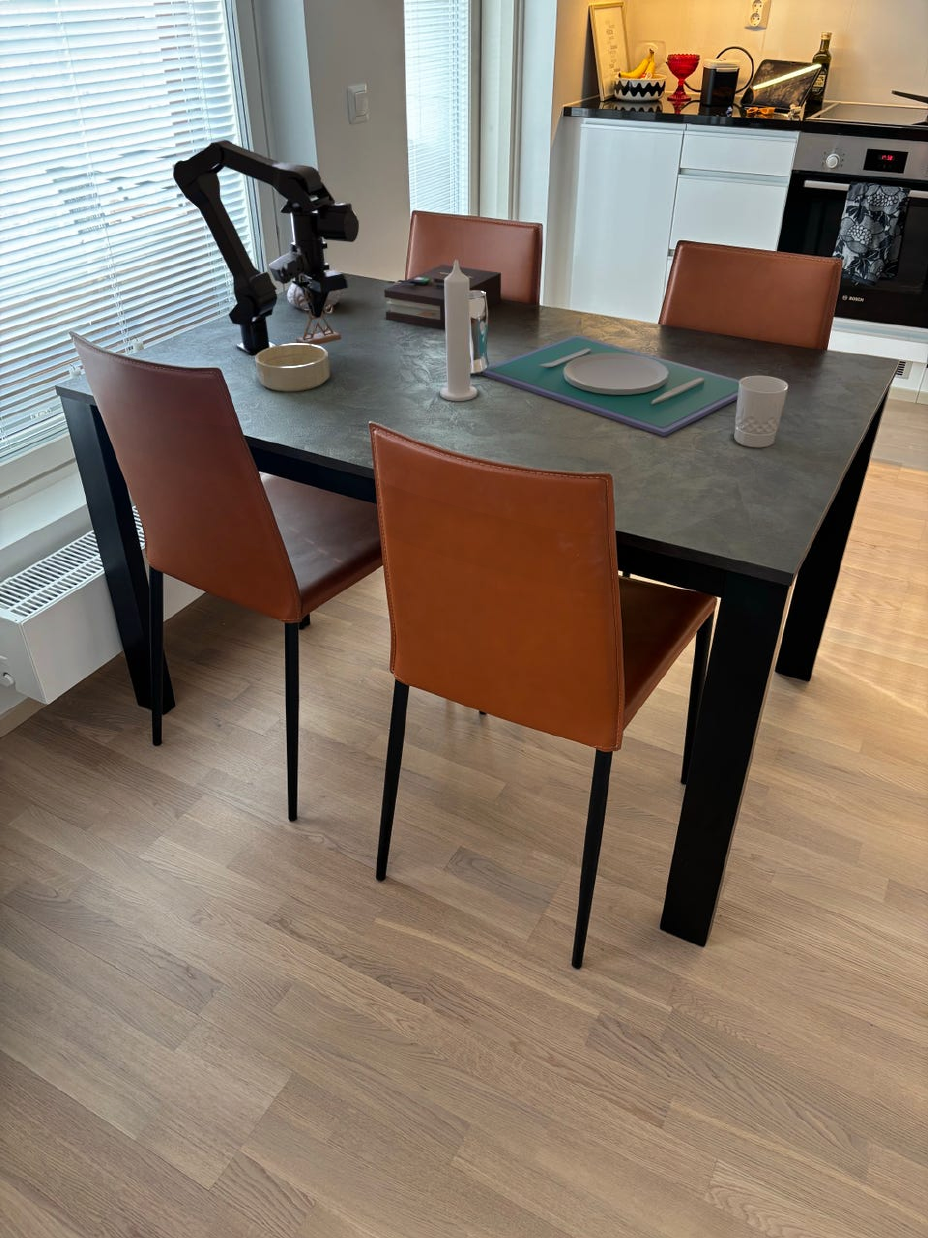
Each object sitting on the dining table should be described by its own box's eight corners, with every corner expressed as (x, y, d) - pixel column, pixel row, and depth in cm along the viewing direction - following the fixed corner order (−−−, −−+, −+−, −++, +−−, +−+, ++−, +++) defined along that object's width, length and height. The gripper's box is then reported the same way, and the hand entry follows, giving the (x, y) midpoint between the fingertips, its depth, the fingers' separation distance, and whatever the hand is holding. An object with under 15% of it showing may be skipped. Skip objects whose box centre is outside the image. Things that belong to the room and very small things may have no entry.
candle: (481, 389, 182) (481, 256, 168) (470, 403, 177) (468, 266, 163) (447, 386, 184) (444, 253, 170) (435, 399, 179) (430, 263, 165)
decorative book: (510, 267, 228) (444, 299, 207) (509, 298, 232) (445, 333, 211) (442, 258, 236) (373, 287, 215) (443, 288, 240) (376, 320, 219)
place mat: (479, 373, 190) (479, 363, 188) (576, 337, 207) (576, 327, 206) (663, 436, 163) (665, 424, 162) (756, 389, 180) (758, 377, 179)
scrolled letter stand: (332, 334, 201) (327, 276, 194) (341, 338, 199) (336, 280, 192) (295, 343, 197) (288, 284, 190) (304, 347, 194) (298, 288, 187)
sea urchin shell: (318, 315, 223) (315, 281, 219) (276, 307, 230) (272, 273, 225) (353, 301, 232) (351, 268, 228) (312, 293, 239) (308, 261, 234)
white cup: (724, 431, 164) (732, 376, 159) (768, 429, 165) (778, 374, 159) (739, 450, 158) (748, 393, 152) (784, 448, 158) (795, 391, 153)
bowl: (246, 377, 190) (243, 353, 187) (308, 362, 197) (305, 338, 194) (279, 398, 181) (276, 372, 178) (343, 381, 188) (340, 356, 185)
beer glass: (488, 374, 187) (483, 297, 179) (454, 375, 189) (447, 298, 181) (494, 364, 193) (489, 289, 185) (461, 365, 194) (455, 290, 187)
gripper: (249, 235, 188) (260, 313, 197) (294, 253, 176) (304, 335, 185) (299, 227, 194) (307, 303, 203) (345, 243, 181) (352, 324, 190)
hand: (316, 316), depth 195 cm, fingers closed on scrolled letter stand
